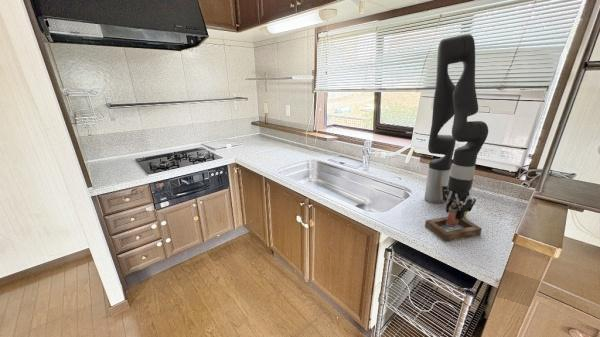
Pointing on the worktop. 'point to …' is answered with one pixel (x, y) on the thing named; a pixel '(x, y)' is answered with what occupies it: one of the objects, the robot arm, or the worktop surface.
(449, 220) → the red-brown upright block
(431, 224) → the slot block
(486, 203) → the worktop surface
